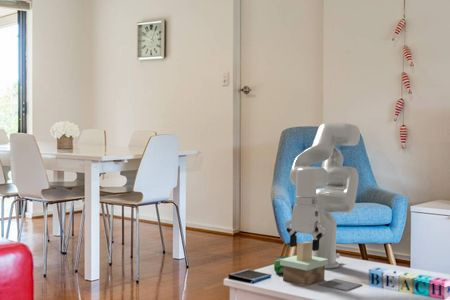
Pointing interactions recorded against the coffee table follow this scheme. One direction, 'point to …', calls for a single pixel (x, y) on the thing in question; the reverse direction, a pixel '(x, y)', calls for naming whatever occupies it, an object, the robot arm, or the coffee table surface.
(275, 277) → the coffee table surface
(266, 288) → the coffee table surface
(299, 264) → the lid
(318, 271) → the box
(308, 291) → the coffee table surface
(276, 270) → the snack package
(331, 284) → the mat
